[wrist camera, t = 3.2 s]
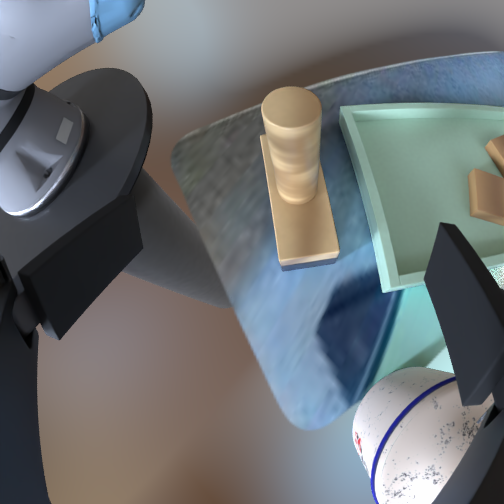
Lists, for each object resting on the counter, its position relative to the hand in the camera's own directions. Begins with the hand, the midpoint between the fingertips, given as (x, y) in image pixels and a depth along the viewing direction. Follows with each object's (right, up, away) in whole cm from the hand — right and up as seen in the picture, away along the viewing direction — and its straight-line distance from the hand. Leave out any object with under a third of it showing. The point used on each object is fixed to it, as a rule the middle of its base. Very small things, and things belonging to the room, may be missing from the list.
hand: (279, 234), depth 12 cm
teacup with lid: (+12, -14, +6) cm, 19 cm away
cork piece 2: (+19, +4, +8) cm, 21 cm away
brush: (+3, +3, +12) cm, 12 cm away
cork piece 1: (+24, +8, +9) cm, 27 cm away
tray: (+20, +6, +10) cm, 23 cm away
